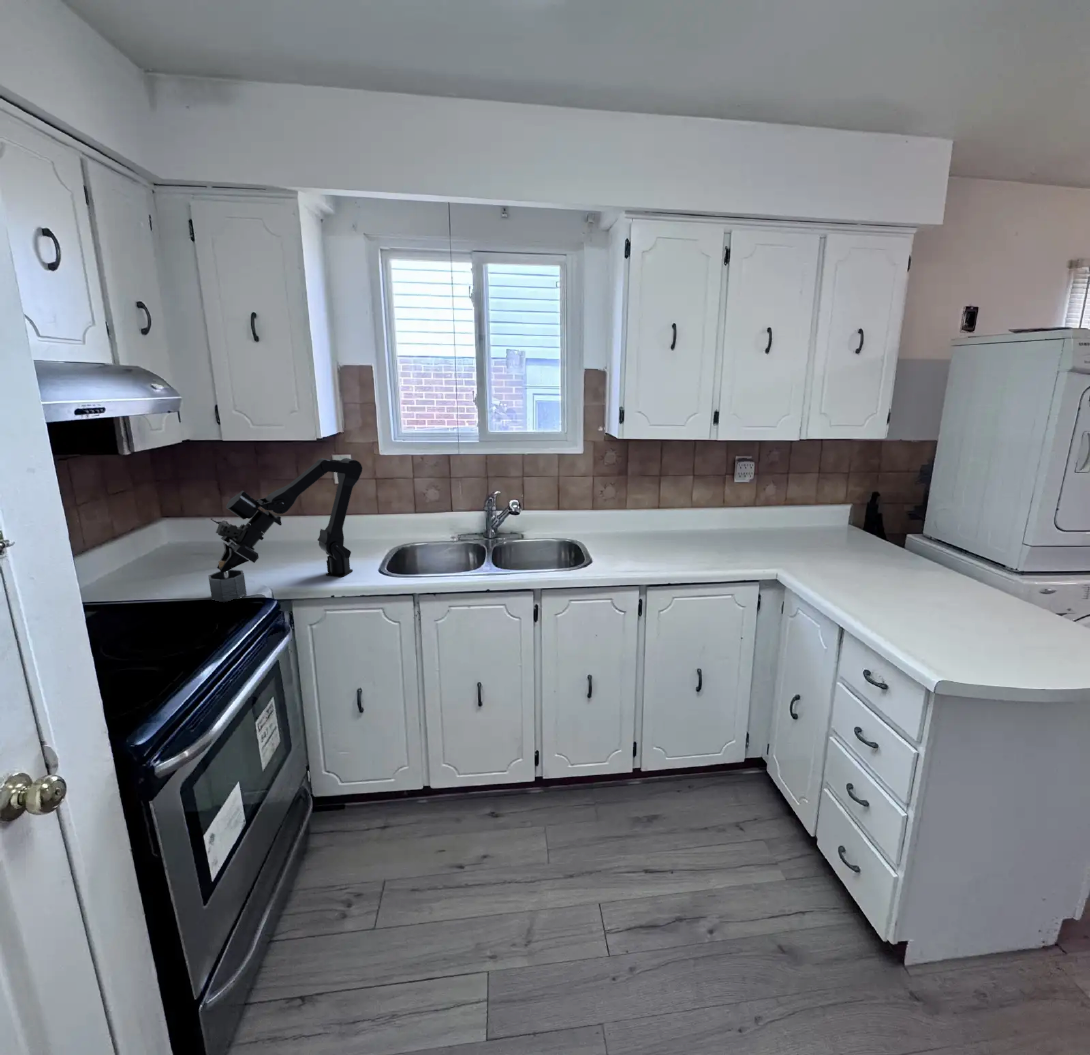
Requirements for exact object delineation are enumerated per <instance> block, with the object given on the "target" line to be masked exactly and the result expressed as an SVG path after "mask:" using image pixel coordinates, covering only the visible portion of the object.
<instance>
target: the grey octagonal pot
mask: <svg viewBox="0 0 1090 1055" xmlns="http://www.w3.org/2000/svg"><path fill="white" fill-rule="evenodd" d="M228 577H229V578H228V579H225V577H224V573H222V572H221V571H220V570H219V571H216V572H214V573H211V574H209V575H208V582H209V589H210V598H211V600H212V599H214V600H215V601H219V602H223V603H225V602H226V603H229V602H228V601H231V600H233V599H237V598H240V597H244V598H246V596H247V587H246V579H245V573H244V570H242V569H241V570H240V569H230V570H228ZM223 603H222V604H223Z"/></svg>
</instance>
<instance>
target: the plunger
mask: <svg viewBox="0 0 1090 1055" xmlns="http://www.w3.org/2000/svg"><path fill="white" fill-rule="evenodd" d="M225 562H226V560H221V559H220V560H219V561H218V563H217V564H219V569H218V570H219V571H220V570H221V568H222V566H223V565H224V563H225ZM224 577H225V579H228V578H229V577H228V571H226V572H224Z"/></svg>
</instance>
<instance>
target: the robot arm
mask: <svg viewBox="0 0 1090 1055" xmlns="http://www.w3.org/2000/svg"><path fill="white" fill-rule="evenodd" d="M328 472H329V473H336V475H337V482H338V484H337V488H336V492H335V497H334V501H333V504H332V509H331V512H330V516H329V521H328V524H327V526H326V528H325V529H323V528H320V529H319V535H318V538H317V541H318V546H319V548H320V549H321V550H322V551H324V552H325V554H326V555H328V556H326V557H327V558H326V569H327V573H325V576H330V577H338V578H339V577H340V578H343V577H345V576H347V575H348V574H350V573H351V572H353V571H354V570H353V568H352V569H351V566H350V558H351V554H352V551H351V550H350V549H348V548H347V547H346V546H344V545H345V544H344V543H345V542H344V541H345V540H344V539H345V537H344V530H343V529H344V525H345V521H346V517H347V513H348V508H349V504H350V500H351V496H352V493H353V492H352V491H353V488H354V487H355V485H356V484H357V483H358V481H359V480H360V477H361V476H362V475H361V474H363V465H362V463H361V462H360V461H358V460H356V459H354V458H349V457H344V458H342V459H340V460H339V459H328V458H327V459H326V458H322V457H321V458H319V459H317V461H316V462H314V464H312V465H311V466H310V467H308V469H306V470H304V472H302V473H301V474H300V475H299V476H297V477H296V478H295V479H294V480H293V481H291V482H289V484H287V485H285V486H283V487H280V488H278V489H276V490H274V491H272V492H271V493H269V494H268V495H267V496H266V497H263V498H258V499H254V498H253V497H252V496H250V495H249V494H248V493H247V492H246V491H244V490H241V491H240V492H239V493H237V494H236V495H235V496H233V497H231V498H230V499H229V500H228V502H227V504H226V506H225V508H226V509H227V510H228V511H230V512H231V513H233V514H234V515H236V516H237V517H239V518H240V519H242V520H246V519H249V520H248V521H247V523H246V524H244V523H243V524H241V525H240V526H237V525H236V524H235V525H233V524H231V523H229V524H228V523H224V522H219V523H218V526H217V529H216V531H215V534H217V535H218V536H220V539H221V540H222V541H224V542H223V543H222V545H223V547H224V551H223V553H222V555H221V558H220V560H226V562H225V563H224V565H223V566H222V568H221V570H219V563H217V567H216V568H217V570H219V571H221V572H222V573H224V572H226V571H228V570H233V569H235V568H236V567H238V566H240V565H242V564H244V563H247V562H248V563H249V561H250V562H252V563H254V564H255V563H257V561H258V560H259V559H260V557H259V552H257V551H255V548H254V547H255V546H256V545H257V544H258V542H259V541H263V540H264V539H265V537H264V535H266V533H267V532H268V531H269V530H270V528H271V527H272V525H273V524H274V523H275V524H276V525H279V526H282V520H281V519H282V517H281V515H282V514H285V513H287V512H288V511H289V510H290V509H291V507H293V506H294V504H295V502H296V501H297V499H298V497H300V495H301V494H303V493H304V492H305V491H306V490H307V489H309V488H310V487H311V486H312V485H314V484H315V483H316V482H317V481H319V480H320V479H321V478H322V477H323V476H324V475H326V474H327V473H328ZM260 508H261V509H263V510H265V511H263V510H261V509H260ZM270 511H271V512H273V513H275V514H278V515H275V514H273V513H271V512H270ZM280 514H281V515H280ZM225 542H226V543H225Z"/></svg>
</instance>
